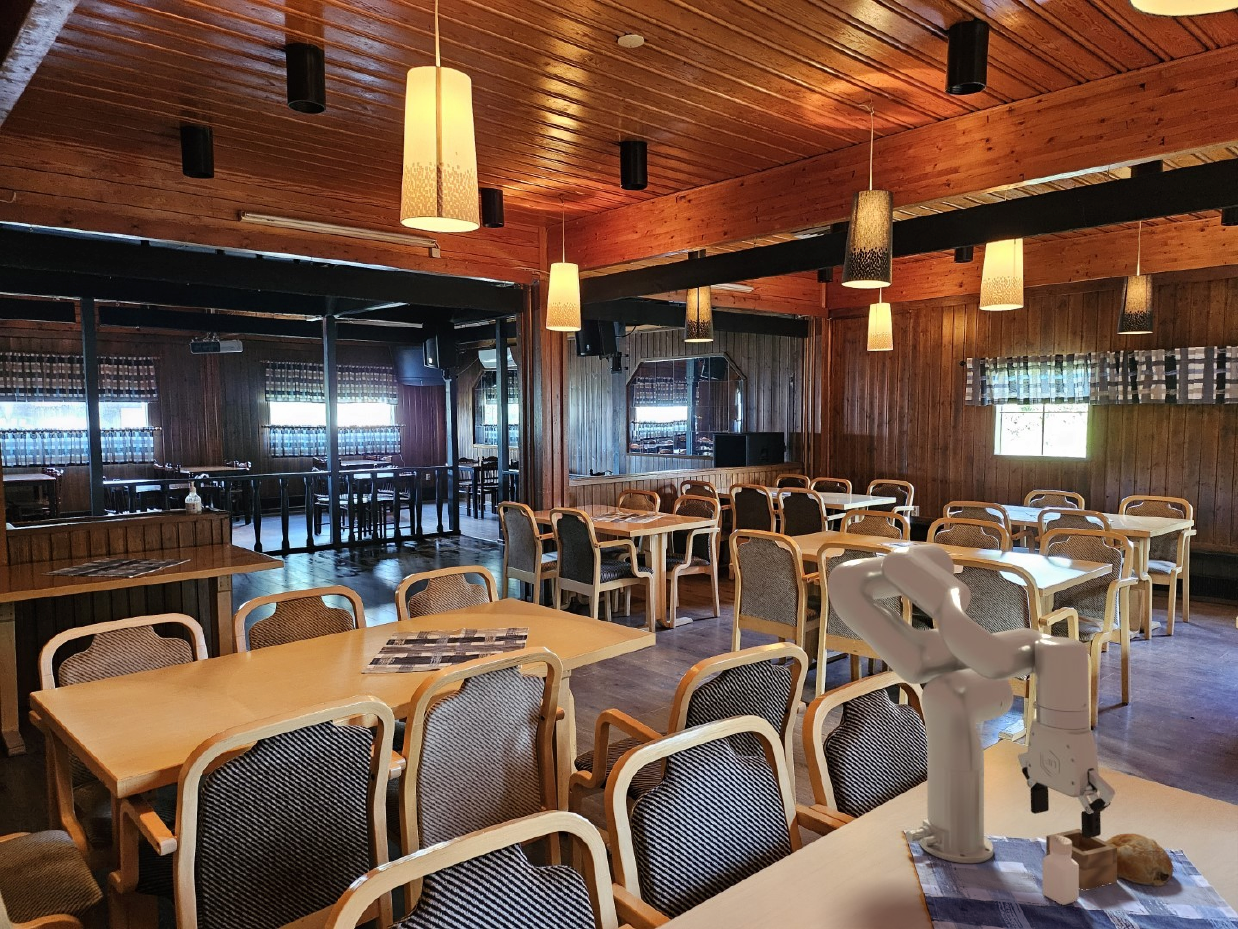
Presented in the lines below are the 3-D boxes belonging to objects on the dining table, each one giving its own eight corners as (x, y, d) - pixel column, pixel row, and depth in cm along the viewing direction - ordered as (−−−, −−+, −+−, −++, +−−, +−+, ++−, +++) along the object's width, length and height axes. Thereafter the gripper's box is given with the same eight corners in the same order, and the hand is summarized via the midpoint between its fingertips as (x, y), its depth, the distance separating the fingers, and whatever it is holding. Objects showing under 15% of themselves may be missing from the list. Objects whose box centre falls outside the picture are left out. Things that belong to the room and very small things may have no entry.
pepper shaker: (1062, 907, 131) (1063, 847, 131) (1040, 895, 135) (1041, 837, 135) (1080, 901, 133) (1080, 842, 132) (1058, 889, 136) (1058, 832, 136)
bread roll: (1136, 909, 137) (1158, 875, 134) (1082, 858, 145) (1102, 825, 142) (1171, 894, 141) (1193, 860, 138) (1117, 845, 150) (1137, 813, 146)
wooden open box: (1083, 892, 136) (1083, 855, 136) (1046, 870, 143) (1046, 836, 143) (1117, 883, 138) (1117, 847, 138) (1078, 862, 145) (1078, 828, 145)
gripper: (1002, 705, 140) (1004, 807, 140) (1092, 736, 123) (1094, 851, 123) (1036, 699, 142) (1038, 800, 142) (1129, 729, 126) (1131, 842, 126)
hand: (1064, 823), depth 133 cm, fingers open, 9 cm apart
